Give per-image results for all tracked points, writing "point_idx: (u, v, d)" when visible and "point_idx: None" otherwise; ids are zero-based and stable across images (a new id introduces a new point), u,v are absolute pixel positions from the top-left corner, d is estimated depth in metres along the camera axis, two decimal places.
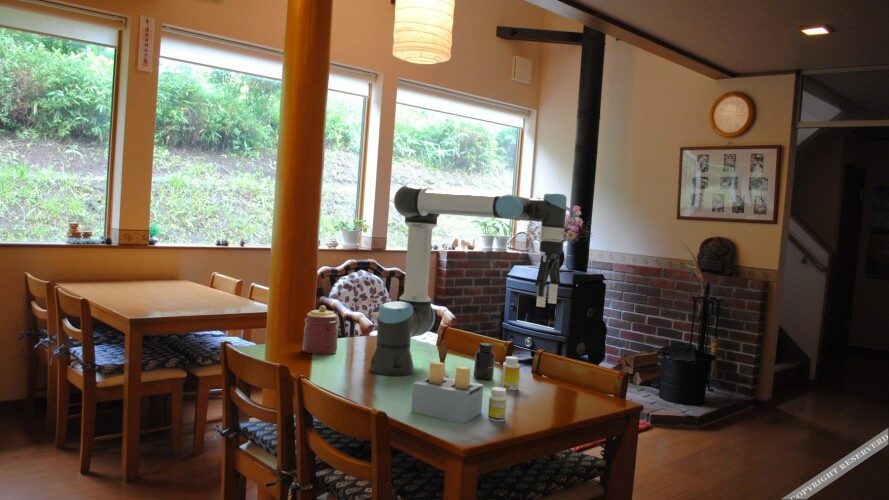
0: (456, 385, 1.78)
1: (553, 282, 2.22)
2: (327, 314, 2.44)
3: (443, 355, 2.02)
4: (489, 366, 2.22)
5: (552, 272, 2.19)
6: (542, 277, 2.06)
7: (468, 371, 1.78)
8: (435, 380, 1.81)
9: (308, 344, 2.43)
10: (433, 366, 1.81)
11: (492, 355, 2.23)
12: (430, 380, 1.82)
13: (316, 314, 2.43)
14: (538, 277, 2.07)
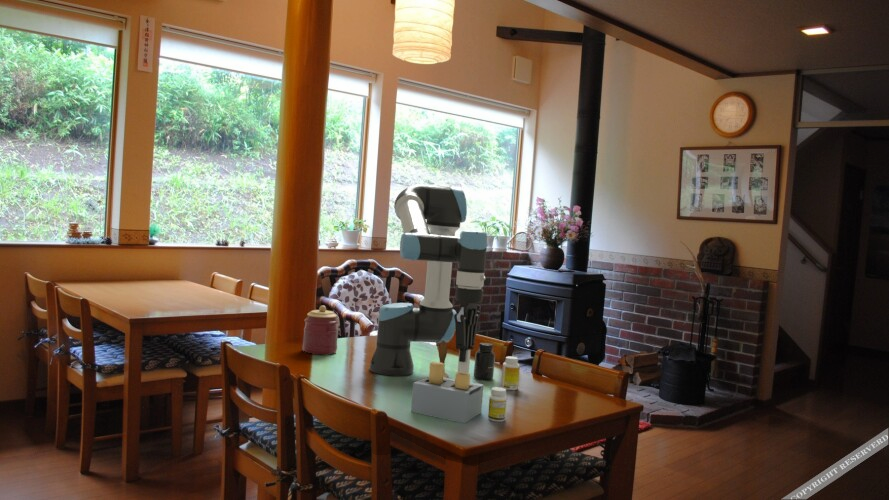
0: None
1: None
2: (327, 314, 2.44)
3: (443, 355, 2.02)
4: (489, 366, 2.22)
5: None
6: (461, 341, 1.75)
7: (468, 376, 1.78)
8: (435, 380, 1.81)
9: (308, 344, 2.43)
10: (433, 366, 1.81)
11: (492, 355, 2.23)
12: (430, 380, 1.82)
13: (316, 314, 2.43)
14: (457, 341, 1.76)
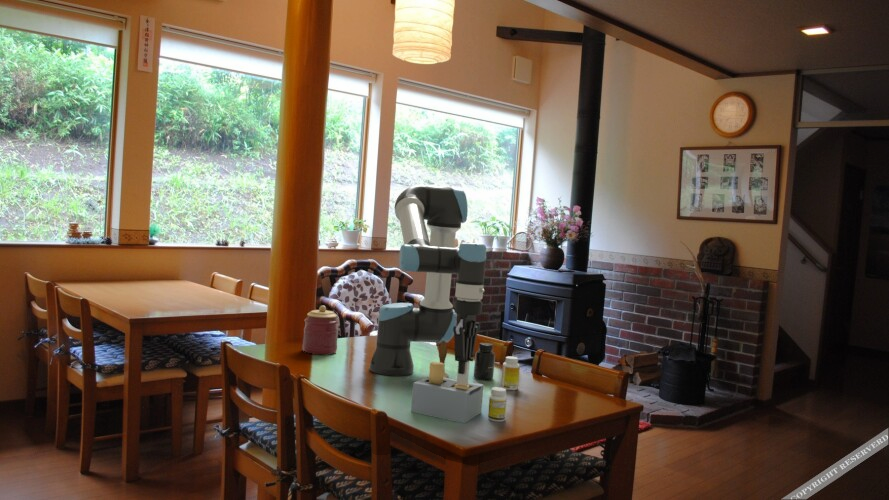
0: None
1: None
2: (327, 314, 2.44)
3: (443, 355, 2.02)
4: (489, 366, 2.22)
5: None
6: (460, 353, 1.75)
7: (467, 388, 1.78)
8: (435, 380, 1.81)
9: (308, 344, 2.43)
10: (433, 366, 1.81)
11: (492, 355, 2.23)
12: (430, 380, 1.82)
13: (316, 314, 2.43)
14: (456, 353, 1.76)
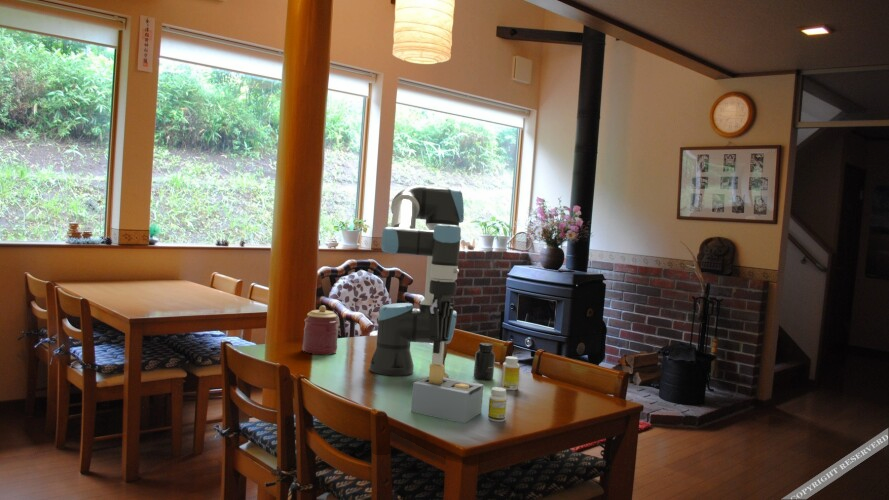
0: None
1: None
2: (327, 314, 2.44)
3: (443, 355, 2.02)
4: (489, 366, 2.22)
5: None
6: (435, 333, 1.78)
7: (467, 388, 1.78)
8: (435, 382, 1.81)
9: (308, 344, 2.43)
10: (433, 367, 1.81)
11: (492, 355, 2.23)
12: (430, 381, 1.82)
13: (316, 314, 2.43)
14: (431, 333, 1.79)
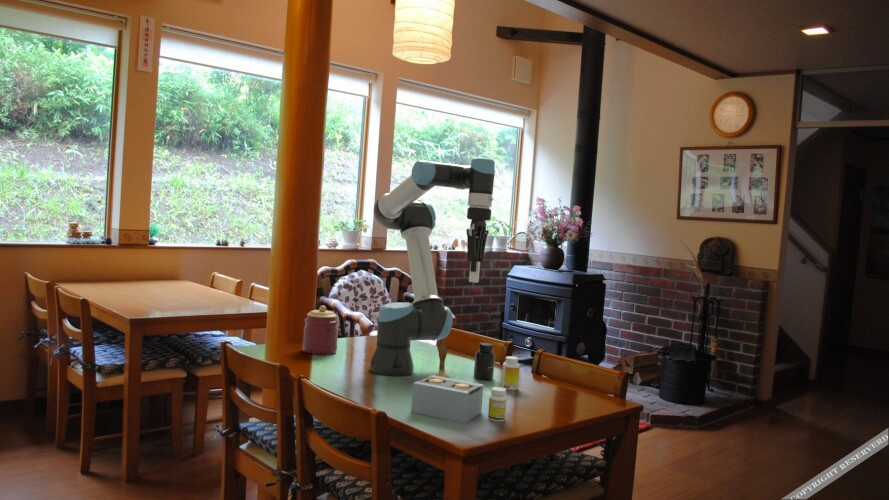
0: None
1: None
2: (327, 314, 2.44)
3: (443, 355, 2.02)
4: (489, 366, 2.22)
5: None
6: (472, 253, 2.03)
7: (467, 388, 1.78)
8: None
9: (308, 344, 2.43)
10: None
11: (492, 355, 2.23)
12: None
13: (316, 314, 2.43)
14: (469, 253, 2.03)
